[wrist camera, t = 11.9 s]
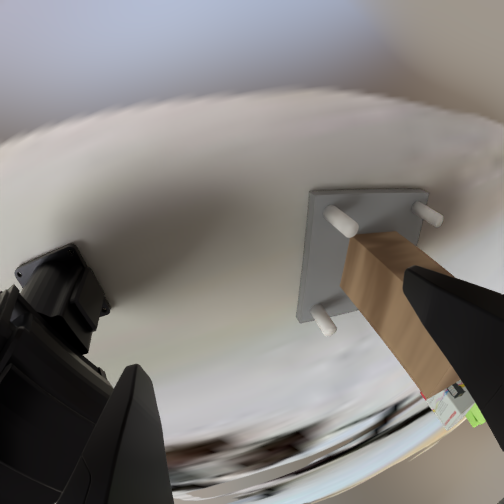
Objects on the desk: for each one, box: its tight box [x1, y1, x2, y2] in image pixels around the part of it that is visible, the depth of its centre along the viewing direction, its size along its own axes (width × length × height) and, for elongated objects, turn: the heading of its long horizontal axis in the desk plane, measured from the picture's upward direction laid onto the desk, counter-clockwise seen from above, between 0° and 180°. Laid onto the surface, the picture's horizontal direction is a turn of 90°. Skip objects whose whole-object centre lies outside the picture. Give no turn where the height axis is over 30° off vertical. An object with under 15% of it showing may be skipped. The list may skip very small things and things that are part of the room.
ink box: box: [420, 380, 475, 430], centre depth 43 cm, size 9×5×12 cm, turn 12°
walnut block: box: [340, 231, 461, 399], centre depth 19 cm, size 5×5×13 cm
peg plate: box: [296, 189, 443, 337], centre depth 24 cm, size 12×12×4 cm
